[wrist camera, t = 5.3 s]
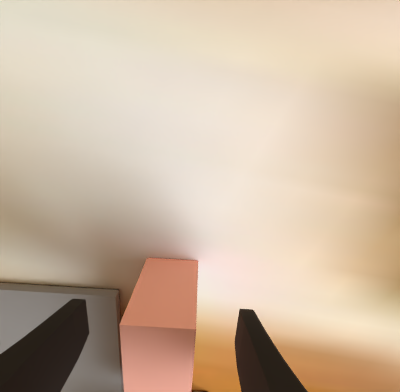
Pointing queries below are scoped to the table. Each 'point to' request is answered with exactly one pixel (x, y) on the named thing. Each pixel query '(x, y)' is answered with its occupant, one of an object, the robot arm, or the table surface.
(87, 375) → the pad
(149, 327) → the pink eraser brick
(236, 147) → the table surface
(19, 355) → the robot arm
